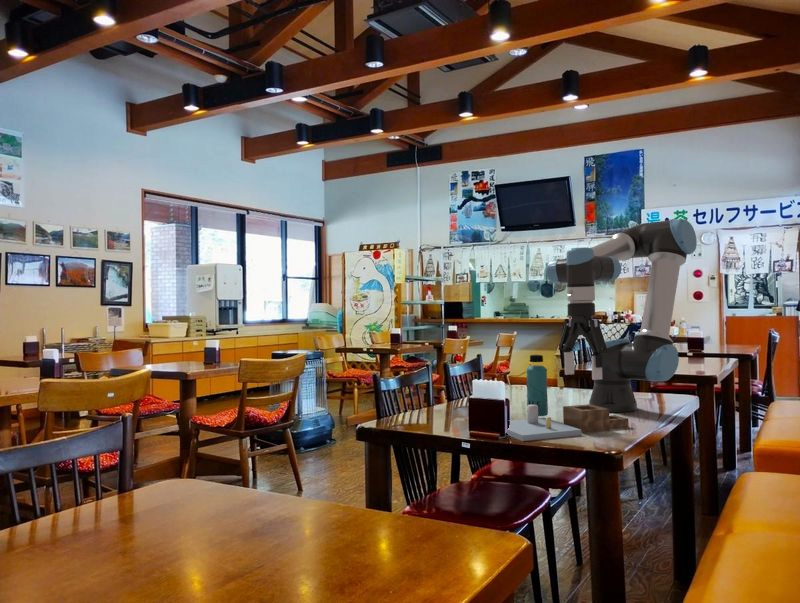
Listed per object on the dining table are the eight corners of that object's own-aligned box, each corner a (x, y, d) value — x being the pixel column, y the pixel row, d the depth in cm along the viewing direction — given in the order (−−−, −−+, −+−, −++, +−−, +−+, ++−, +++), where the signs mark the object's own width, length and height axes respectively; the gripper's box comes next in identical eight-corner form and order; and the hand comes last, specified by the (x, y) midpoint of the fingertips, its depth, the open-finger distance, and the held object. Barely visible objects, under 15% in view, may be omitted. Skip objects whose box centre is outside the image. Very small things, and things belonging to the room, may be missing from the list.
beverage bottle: (547, 417, 193) (545, 353, 193) (550, 421, 186) (548, 355, 186) (525, 417, 193) (524, 354, 193) (528, 421, 187) (526, 355, 187)
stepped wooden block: (581, 433, 168) (581, 411, 168) (563, 427, 177) (563, 406, 177) (632, 428, 173) (631, 407, 173) (611, 422, 182) (611, 402, 182)
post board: (544, 422, 184) (543, 401, 184) (581, 435, 166) (580, 411, 166) (490, 427, 179) (489, 405, 179) (522, 441, 161) (521, 416, 161)
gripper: (546, 302, 185) (548, 373, 185) (595, 302, 161) (597, 382, 161) (568, 302, 187) (569, 371, 187) (620, 301, 164) (622, 381, 163)
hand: (582, 376), depth 174 cm, fingers open, 13 cm apart
